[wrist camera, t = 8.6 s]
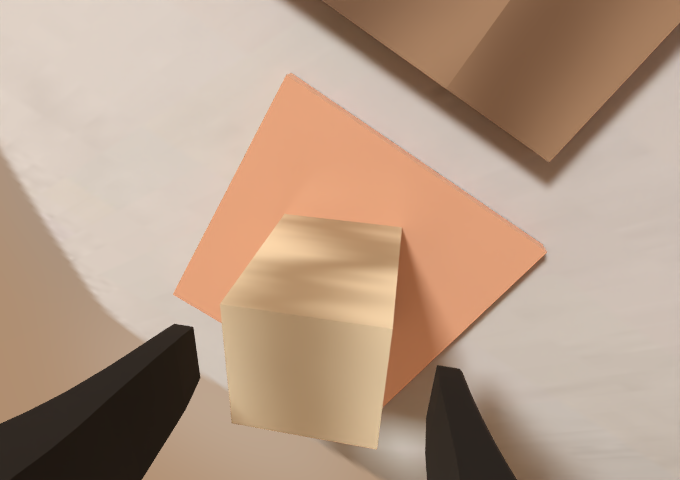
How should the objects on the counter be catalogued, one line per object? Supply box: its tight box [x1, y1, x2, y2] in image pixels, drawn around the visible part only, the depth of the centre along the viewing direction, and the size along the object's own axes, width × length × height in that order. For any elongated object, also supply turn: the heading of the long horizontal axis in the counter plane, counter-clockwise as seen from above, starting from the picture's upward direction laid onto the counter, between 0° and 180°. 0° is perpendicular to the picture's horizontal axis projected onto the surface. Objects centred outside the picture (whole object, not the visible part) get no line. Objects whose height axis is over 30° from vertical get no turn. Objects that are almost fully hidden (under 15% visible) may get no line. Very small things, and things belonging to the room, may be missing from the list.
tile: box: [173, 73, 547, 408], centre depth 17 cm, size 11×11×1 cm
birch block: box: [220, 214, 402, 449], centre depth 14 cm, size 4×4×6 cm
